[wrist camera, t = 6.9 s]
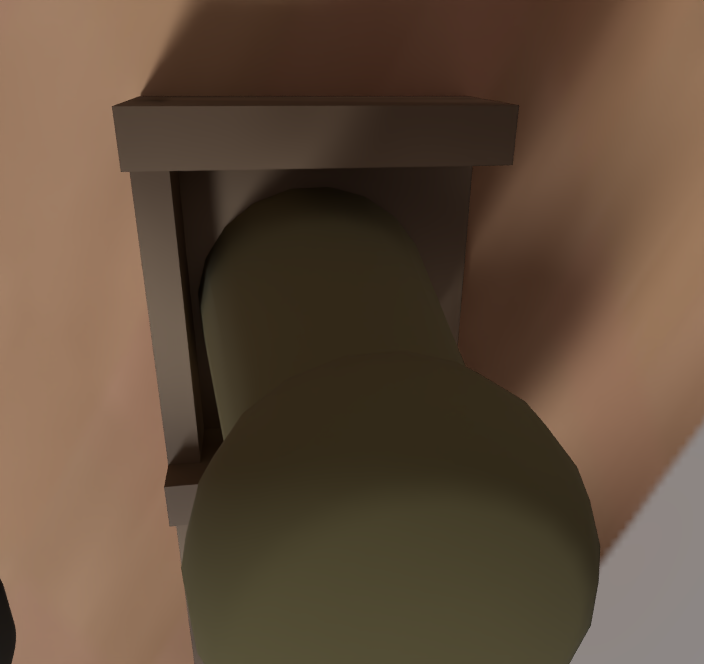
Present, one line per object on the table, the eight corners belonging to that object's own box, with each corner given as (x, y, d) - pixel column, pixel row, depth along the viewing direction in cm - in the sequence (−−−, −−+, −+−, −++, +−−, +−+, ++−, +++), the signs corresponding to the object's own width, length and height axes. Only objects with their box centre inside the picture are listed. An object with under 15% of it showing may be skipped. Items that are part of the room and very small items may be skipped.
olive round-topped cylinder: (167, 215, 15) (18, 518, 5) (410, 162, 15) (710, 350, 6) (232, 423, 18) (217, 899, 8) (439, 374, 18) (682, 763, 8)
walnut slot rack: (426, 630, 23) (453, 714, 20) (206, 658, 22) (200, 752, 19) (467, 96, 16) (519, 105, 13) (139, 96, 15) (111, 106, 12)
